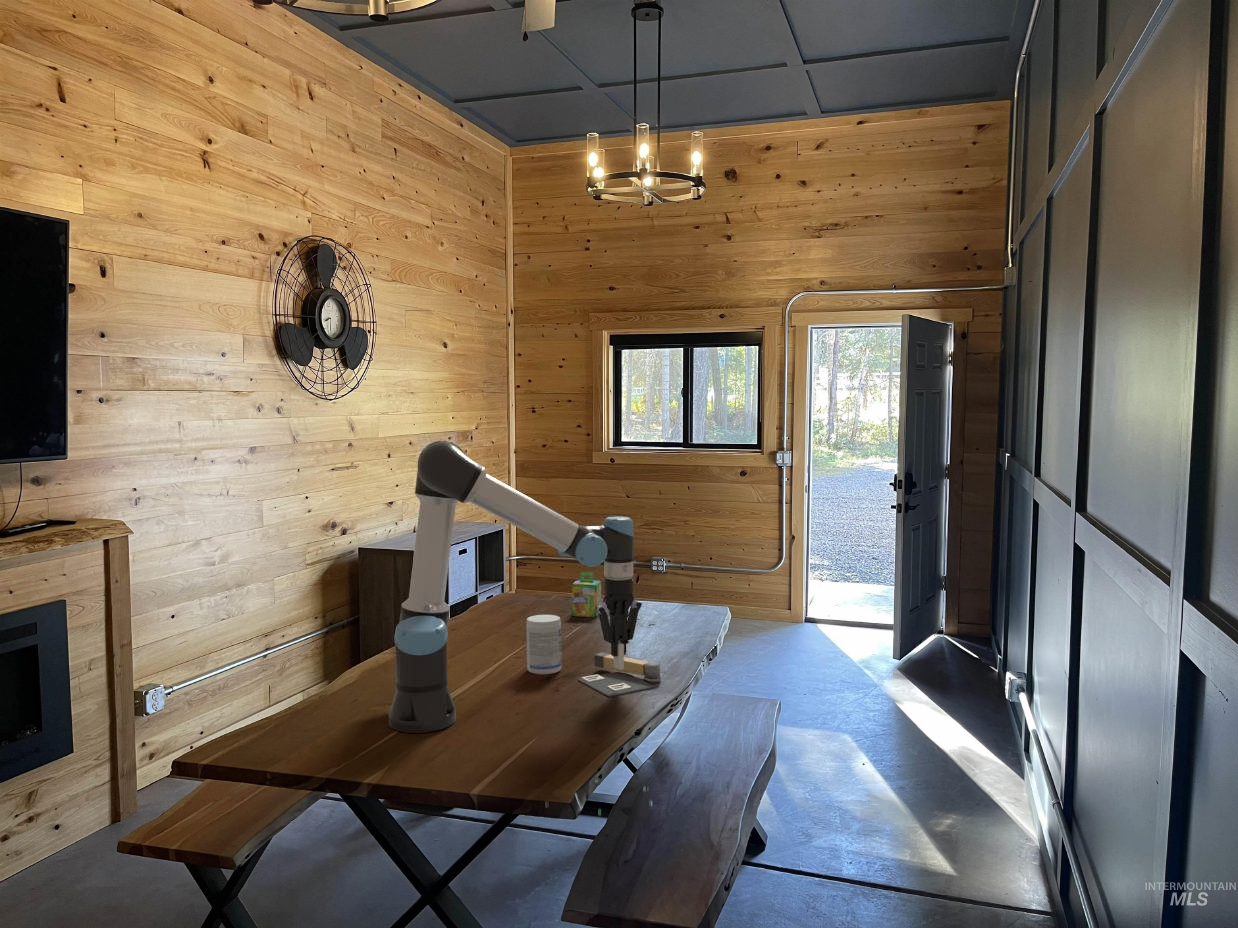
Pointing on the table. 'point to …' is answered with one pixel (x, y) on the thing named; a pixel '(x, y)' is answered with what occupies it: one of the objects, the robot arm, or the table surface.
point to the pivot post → (652, 680)
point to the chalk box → (586, 596)
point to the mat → (617, 679)
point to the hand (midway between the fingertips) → (618, 667)
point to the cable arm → (629, 665)
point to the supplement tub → (543, 644)
